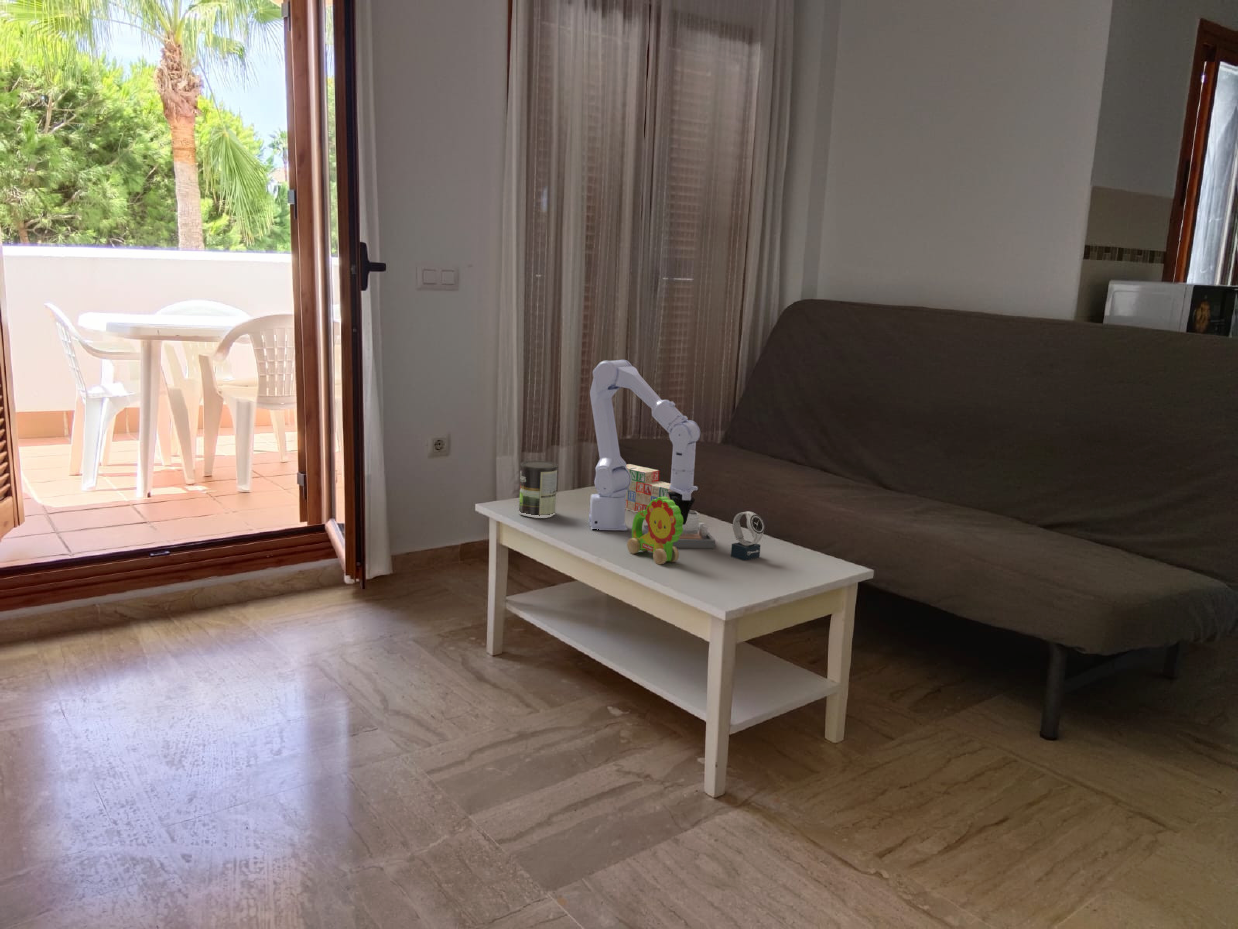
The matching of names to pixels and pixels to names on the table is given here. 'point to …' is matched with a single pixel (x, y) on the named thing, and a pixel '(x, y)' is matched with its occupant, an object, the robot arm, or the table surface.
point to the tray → (693, 538)
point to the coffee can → (538, 487)
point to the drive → (691, 523)
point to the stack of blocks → (644, 487)
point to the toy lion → (658, 530)
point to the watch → (743, 547)
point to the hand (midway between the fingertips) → (679, 522)
